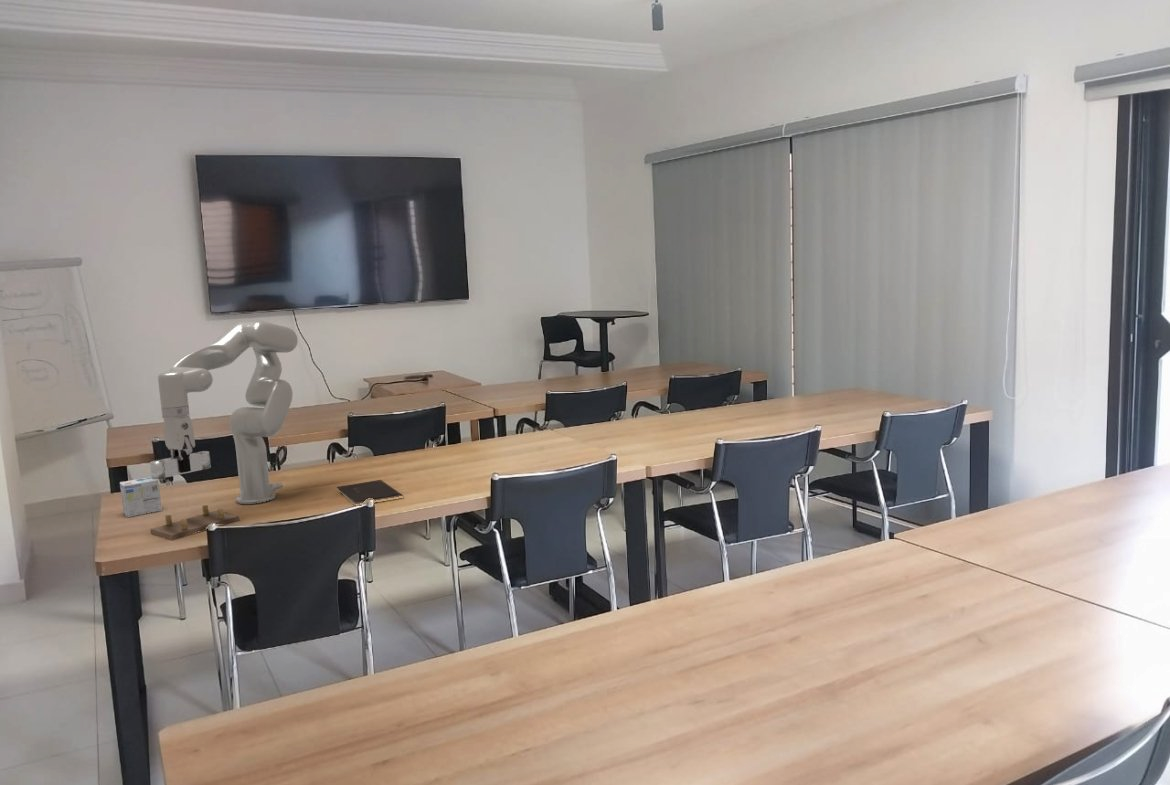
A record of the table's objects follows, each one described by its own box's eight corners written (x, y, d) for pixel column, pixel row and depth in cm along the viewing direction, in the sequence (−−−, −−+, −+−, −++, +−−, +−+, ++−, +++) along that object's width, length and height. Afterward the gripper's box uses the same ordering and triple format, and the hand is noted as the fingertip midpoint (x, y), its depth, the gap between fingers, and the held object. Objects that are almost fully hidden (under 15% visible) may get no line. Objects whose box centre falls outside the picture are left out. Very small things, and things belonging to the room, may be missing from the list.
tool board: (218, 514, 282) (216, 501, 282) (239, 520, 275) (238, 506, 275) (150, 533, 265) (149, 519, 264) (172, 540, 258) (170, 525, 257)
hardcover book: (355, 508, 285) (354, 501, 285) (337, 493, 305) (336, 486, 305) (403, 500, 293) (402, 493, 293) (382, 485, 313) (382, 479, 312)
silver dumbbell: (206, 466, 278) (205, 450, 277) (213, 467, 276) (211, 452, 275) (149, 478, 264) (147, 462, 263) (155, 480, 262) (153, 463, 261)
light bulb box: (157, 506, 295) (154, 475, 293) (162, 510, 290) (159, 479, 288) (122, 513, 288) (118, 481, 287) (127, 517, 283) (123, 485, 281)
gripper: (201, 412, 265) (207, 471, 268) (174, 408, 275) (180, 465, 278) (176, 416, 259) (183, 477, 262) (150, 411, 269) (157, 470, 272)
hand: (182, 470), depth 270 cm, fingers closed on silver dumbbell, 3 cm apart
